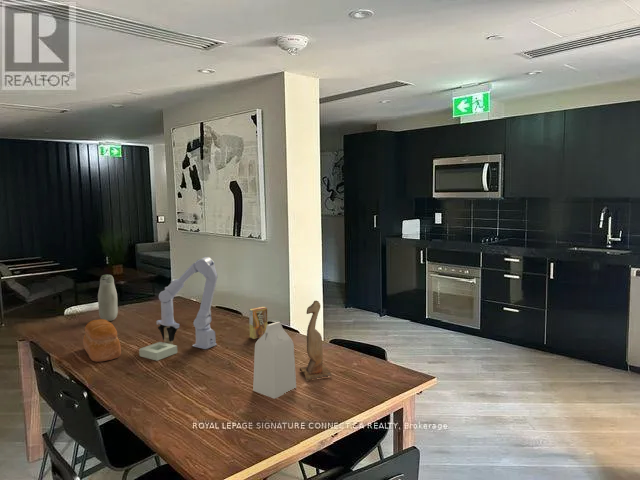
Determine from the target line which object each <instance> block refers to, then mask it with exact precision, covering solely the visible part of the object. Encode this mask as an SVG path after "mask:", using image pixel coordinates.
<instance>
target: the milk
mask: <svg viewBox="0 0 640 480" xmlns="http://www.w3.org/2000/svg"><path fill="white" fill-rule="evenodd" d="M294 346H295V345H294V341H293V340H292V338H291V336H290V335H289V334H288V333H287V331H285V329H284V328H283V325H282V322H280V321H276V322H272V323H269V324H267V327H266V331H265V333H264V334H263V335H262V336H261V337H260V338H257V341H256V342H255V344H254V357H253V358H254V359H253V361H254V362H253V384H252V388H253V389H252V391H253V392H255V393H258V394H261V395H264V396H266V397H268V398H272V399H274V400H275V399H277V398H279V397H281V396H284V395H285V394H287V393H286V392H288V391H290V390H292V389H294V388H296V389H297V377H296V376H297V375H296V364H295V363H296V361H295V347H294ZM294 390H295V389H294ZM292 391H293V390H292ZM290 392H291V391H290ZM284 393H285V394H284ZM288 393H289V392H288Z"/></svg>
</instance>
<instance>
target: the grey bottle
mask: <svg viewBox="0 0 640 480" xmlns="http://www.w3.org/2000/svg"><path fill="white" fill-rule="evenodd" d="M97 305H98V315H99V318H100V319H104V320H107V321H108V322H112V321H114V320H115V319H116V318H117V317H118V314H119V313H118V311H119V310H118V309H119V308H118V293H117V289H116V285H115V279H114V277H113V275H112V274H103V275H101V276H100V278H99V288H98V293H97Z"/></svg>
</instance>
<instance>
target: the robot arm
mask: <svg viewBox="0 0 640 480" xmlns="http://www.w3.org/2000/svg"><path fill="white" fill-rule="evenodd" d="M215 265H216V264H215V261H214V260H213V259H212V258H211V257H210V256H203V257H202V258H200V259H197V260H196V261H195V262H193V263H192V264H191V265H190V266H189V267H188V268H186V270H185V271H184V272H183V274H182V275H180V277H179V278H174V279H172V280H170V283H169V284H168V286H165V287H164V290H161V291H160V292H159V294H158V299H159V301H160V311H161V313H160V314H161V316H160V317H161V319H158V320H156V323H155V324H156V325H159V326H158V327H157V328H158V330H159V333H160V334H161V337H162V340H163V341H164V327H167V326H169V328H166V329H167V331H168V335H169V341H170V342H171V341H173V342H174V340H175V335H176V332H177V330H178V329H179V328H180V323H177V322H176V320H175V319H174V317H175V316H174V298H175V296H176V295H177V294H178V293H179V292H180V291H181V290H183V288H184V285H185V283H186V281H188V280H189V279H190V278H191V277H192V276H193V275H195V273H199V274H201V275H203V277H204V278H205V281H204V282H205V283H204V288H203V292H202V298H201V302H200V306H199V310H198V311H197V313H196V317H195V319H194V320H193V323H192V324H193V326H194V328H195V330H194V331H195V343H194V344H192V347H194V348H199V349H201V350H202V349H203V350H208V349H210V348H212V347H215V346H217V345H218V344H217V343H216V341H217V340H216V331H215V330H214V329H213V328H211V322H212V310H211V308H212V303H213V300H214V295H215V291H216V290H215V289H216V285H217V280H218V272H217V270H216V269H217V268H216V266H215Z"/></svg>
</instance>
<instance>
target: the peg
mask: <svg viewBox="0 0 640 480" xmlns="http://www.w3.org/2000/svg"><path fill="white" fill-rule="evenodd" d="M166 328H169V326H167V327H164V340H163V343H168V344H172V345H174V341H171V342H170V341H169V335H168V331H167V329H166Z"/></svg>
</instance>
